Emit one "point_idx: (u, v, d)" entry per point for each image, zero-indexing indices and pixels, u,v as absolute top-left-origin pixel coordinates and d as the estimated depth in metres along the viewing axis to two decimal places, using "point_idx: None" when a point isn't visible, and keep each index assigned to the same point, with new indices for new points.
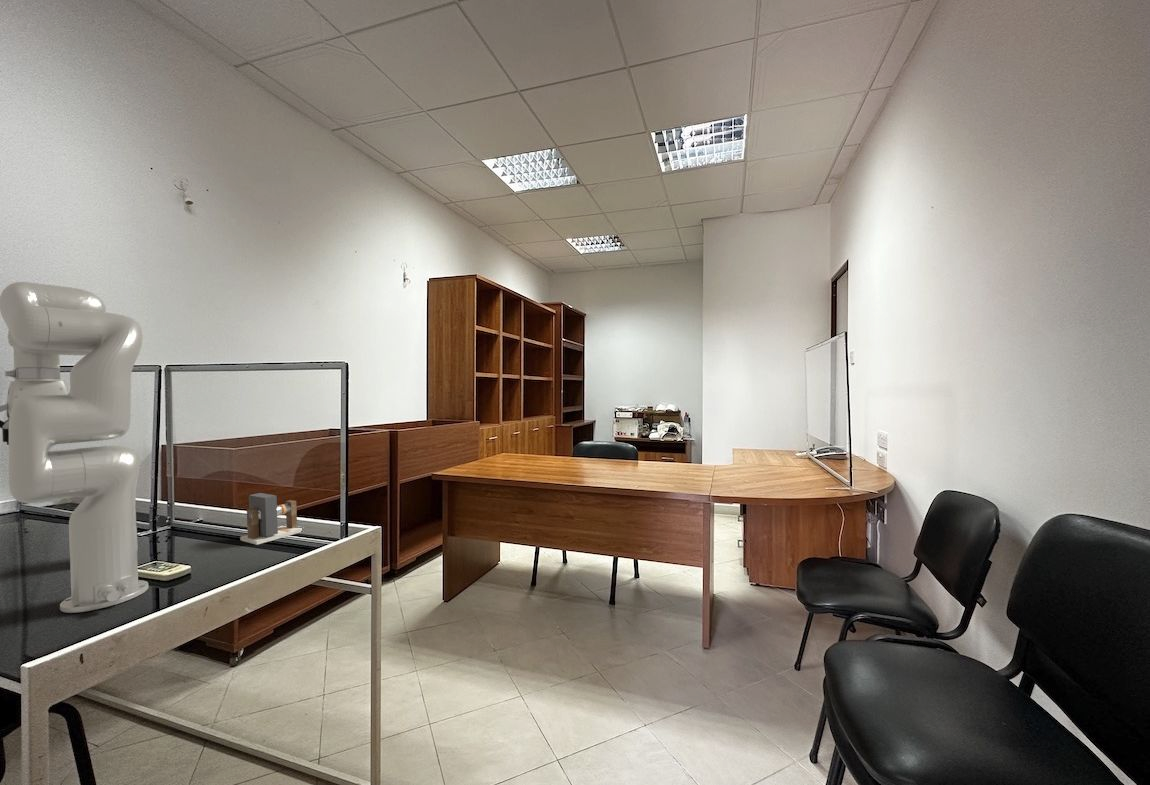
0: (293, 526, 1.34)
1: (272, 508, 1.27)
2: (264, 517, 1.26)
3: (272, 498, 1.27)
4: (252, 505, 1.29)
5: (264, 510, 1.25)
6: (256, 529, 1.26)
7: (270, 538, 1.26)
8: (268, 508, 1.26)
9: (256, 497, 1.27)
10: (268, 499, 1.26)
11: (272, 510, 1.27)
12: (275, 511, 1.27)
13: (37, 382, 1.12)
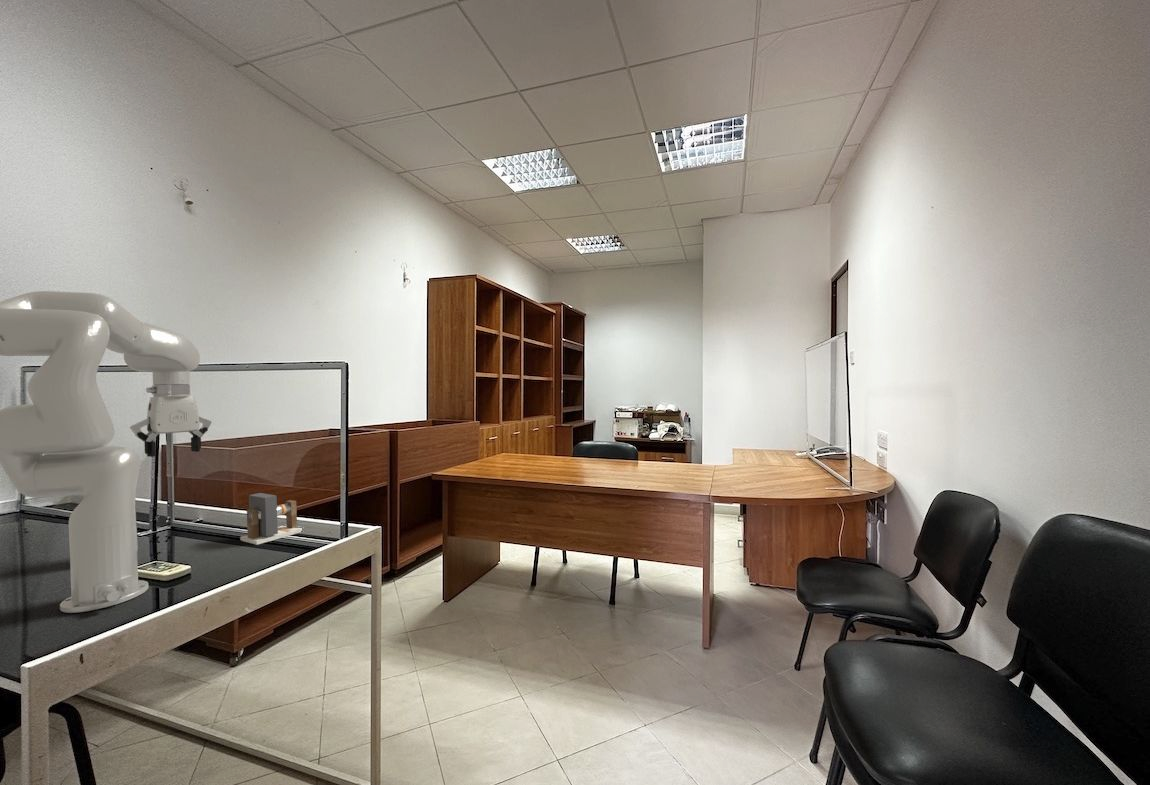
0: (293, 526, 1.34)
1: (272, 508, 1.27)
2: (264, 517, 1.26)
3: (272, 498, 1.27)
4: (252, 505, 1.29)
5: (264, 510, 1.25)
6: (256, 529, 1.26)
7: (270, 538, 1.26)
8: (268, 508, 1.26)
9: (256, 497, 1.27)
10: (268, 499, 1.26)
11: (272, 510, 1.27)
12: (275, 511, 1.27)
13: (173, 398, 1.20)
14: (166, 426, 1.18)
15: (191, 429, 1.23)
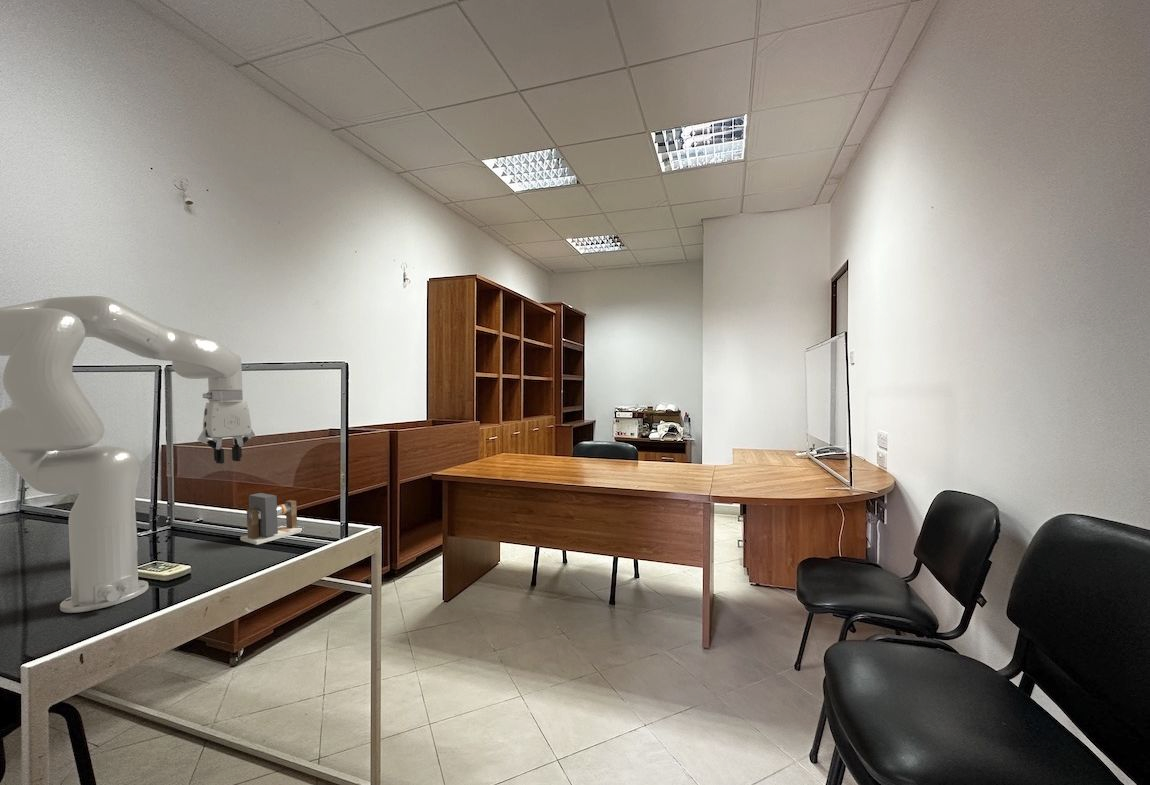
0: (293, 526, 1.34)
1: (272, 508, 1.27)
2: (264, 517, 1.26)
3: (272, 498, 1.27)
4: (252, 505, 1.29)
5: (264, 510, 1.25)
6: (256, 529, 1.26)
7: (270, 538, 1.26)
8: (268, 508, 1.26)
9: (256, 497, 1.27)
10: (268, 499, 1.26)
11: (272, 510, 1.27)
12: (275, 511, 1.27)
13: (228, 403, 1.23)
14: (221, 431, 1.21)
15: (244, 433, 1.26)
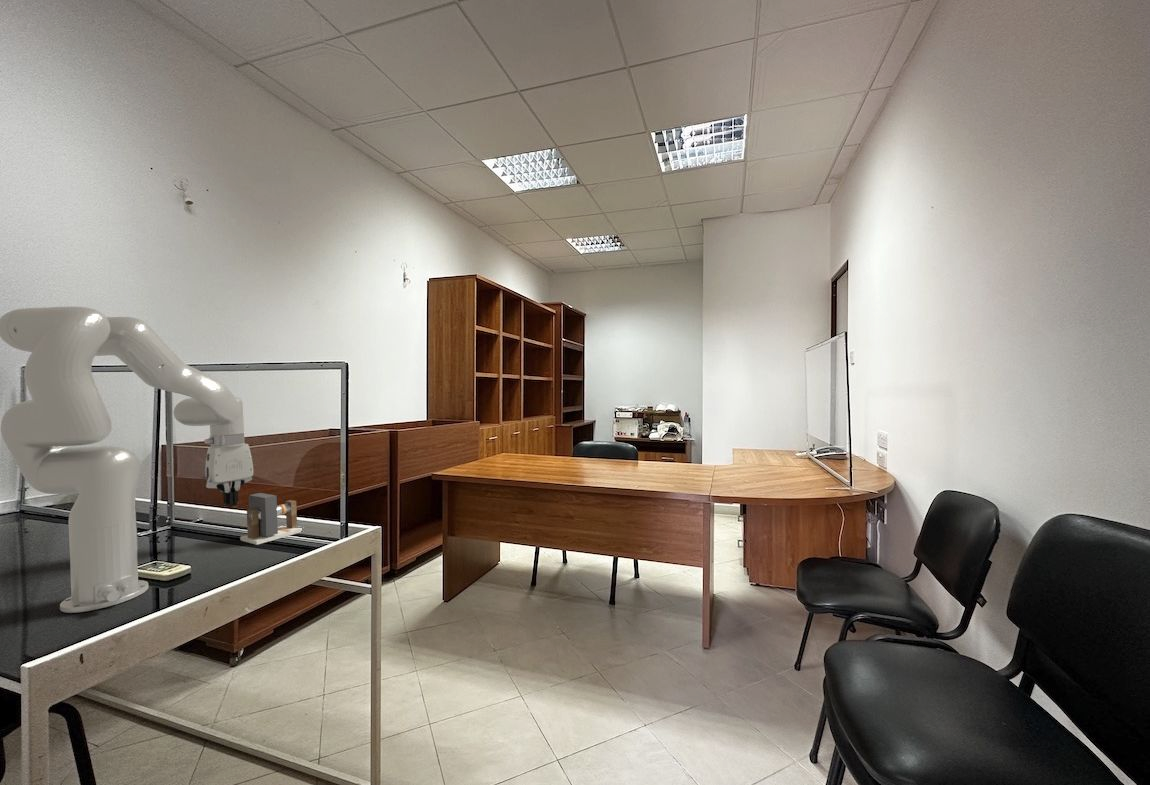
0: (293, 526, 1.34)
1: (272, 508, 1.27)
2: (264, 517, 1.26)
3: (272, 498, 1.27)
4: (252, 505, 1.29)
5: (264, 510, 1.25)
6: (256, 529, 1.26)
7: (270, 538, 1.26)
8: (268, 508, 1.26)
9: (256, 497, 1.27)
10: (268, 499, 1.26)
11: (272, 510, 1.27)
12: (275, 511, 1.27)
13: (230, 448, 1.23)
14: (223, 476, 1.22)
15: (246, 476, 1.26)
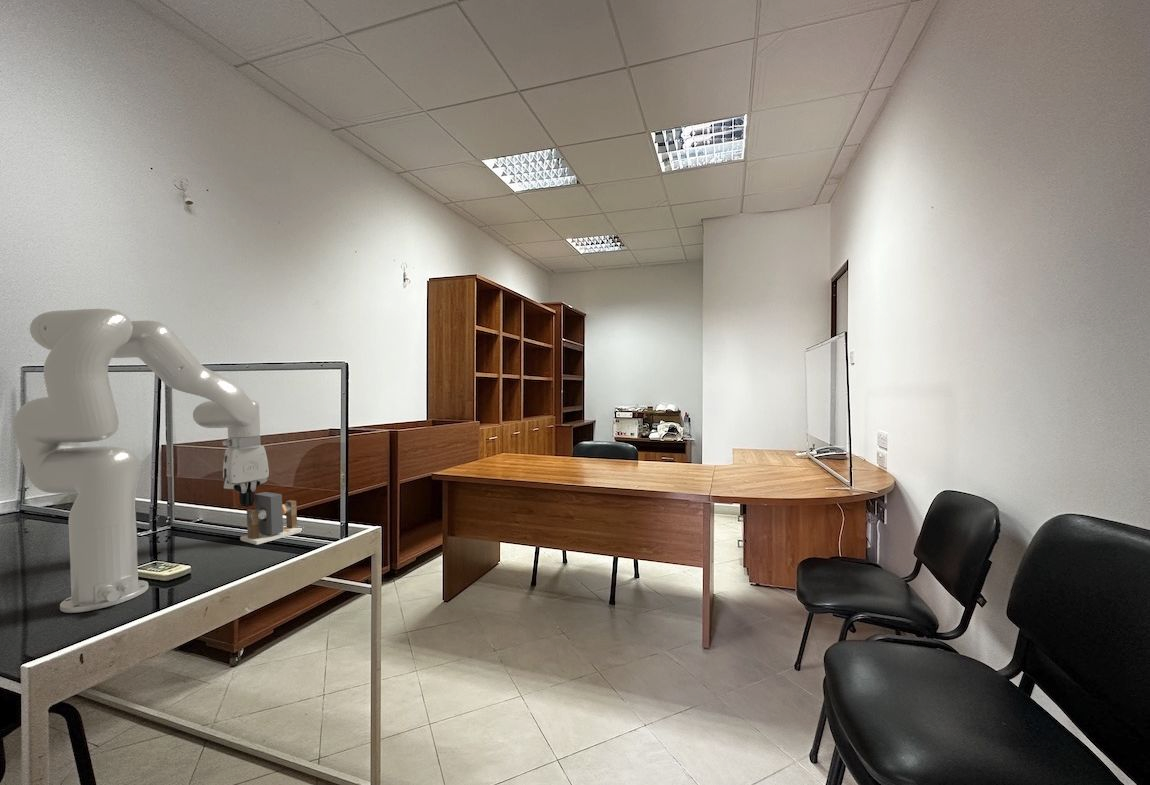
0: (293, 526, 1.34)
1: (277, 507, 1.28)
2: (269, 516, 1.27)
3: (277, 497, 1.28)
4: (257, 504, 1.30)
5: (270, 509, 1.27)
6: (256, 529, 1.26)
7: (270, 538, 1.26)
8: (273, 507, 1.27)
9: (262, 496, 1.29)
10: (273, 497, 1.27)
11: (277, 509, 1.28)
12: (280, 510, 1.29)
13: (246, 449, 1.27)
14: (240, 477, 1.25)
15: (262, 478, 1.30)
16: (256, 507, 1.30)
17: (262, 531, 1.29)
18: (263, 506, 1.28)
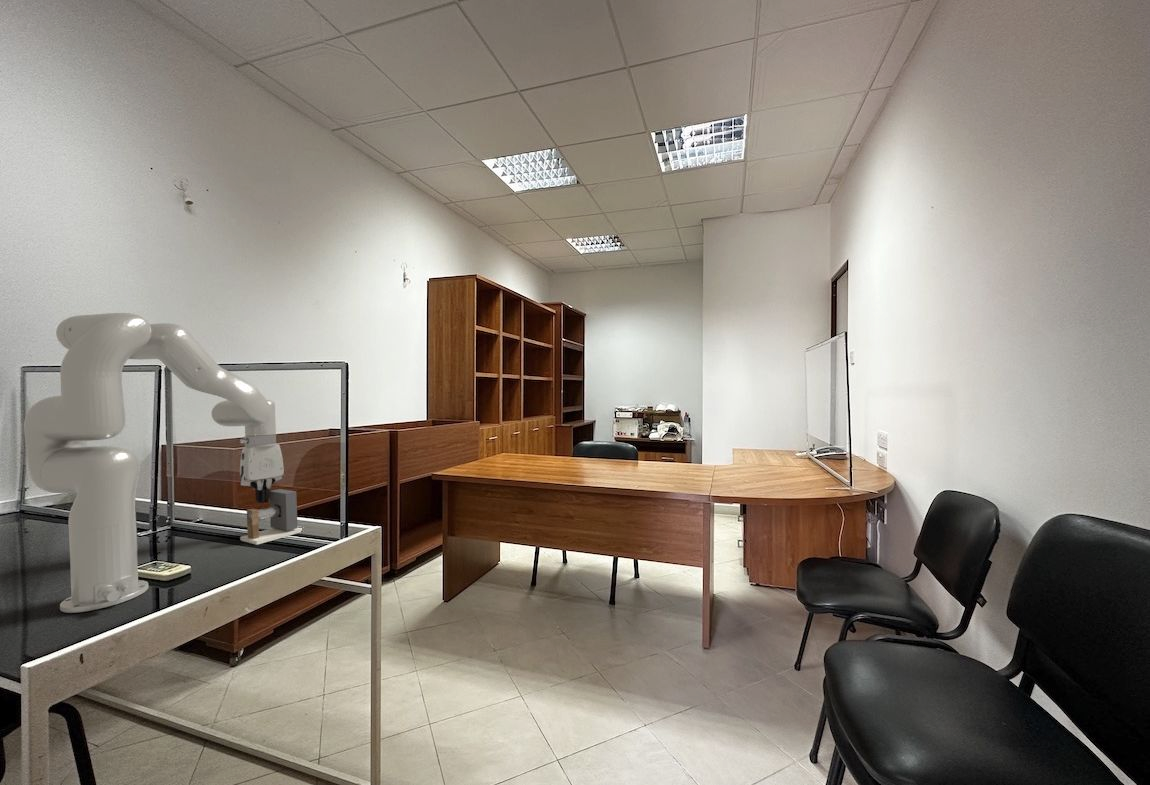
0: None
1: (292, 503, 1.32)
2: (284, 512, 1.30)
3: (292, 494, 1.32)
4: (272, 500, 1.34)
5: (285, 505, 1.30)
6: (256, 529, 1.26)
7: (270, 538, 1.26)
8: (288, 503, 1.31)
9: (277, 493, 1.32)
10: (288, 494, 1.31)
11: (292, 505, 1.32)
12: (295, 506, 1.32)
13: (263, 447, 1.30)
14: (257, 474, 1.29)
15: (277, 475, 1.34)
16: (271, 504, 1.34)
17: (277, 527, 1.33)
18: (278, 503, 1.32)
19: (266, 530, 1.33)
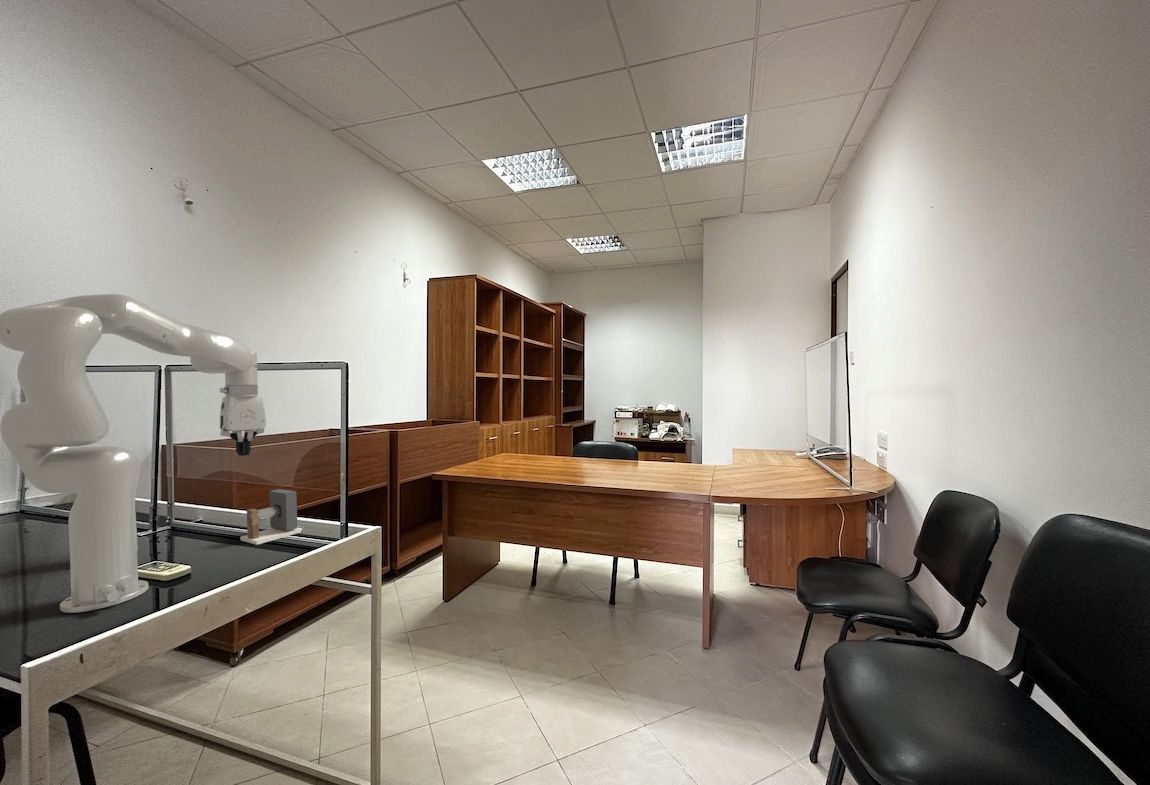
0: None
1: (292, 503, 1.32)
2: (284, 512, 1.30)
3: (292, 494, 1.32)
4: (272, 500, 1.34)
5: (285, 505, 1.30)
6: (256, 529, 1.26)
7: (270, 538, 1.26)
8: (288, 503, 1.31)
9: (277, 493, 1.32)
10: (288, 494, 1.31)
11: (292, 505, 1.32)
12: (295, 506, 1.32)
13: (244, 398, 1.26)
14: (237, 424, 1.25)
15: (259, 427, 1.29)
16: (271, 504, 1.34)
17: (277, 527, 1.33)
18: (278, 503, 1.32)
19: (266, 530, 1.33)
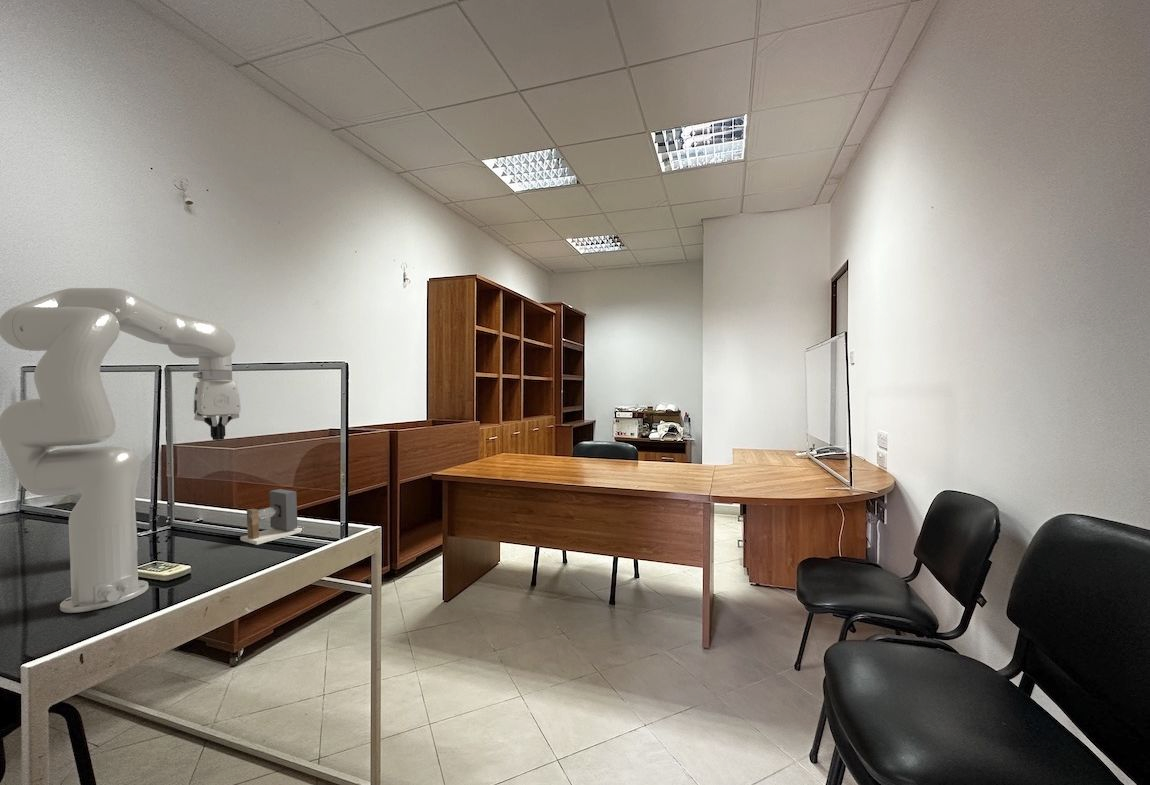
0: None
1: (292, 503, 1.32)
2: (284, 512, 1.30)
3: (292, 494, 1.32)
4: (272, 500, 1.34)
5: (285, 505, 1.30)
6: (256, 529, 1.26)
7: (270, 538, 1.26)
8: (288, 503, 1.31)
9: (277, 493, 1.32)
10: (288, 494, 1.31)
11: (292, 505, 1.32)
12: (295, 506, 1.32)
13: (217, 383, 1.28)
14: (211, 409, 1.26)
15: (233, 412, 1.31)
16: (271, 504, 1.34)
17: (277, 527, 1.33)
18: (278, 503, 1.32)
19: (266, 530, 1.33)
